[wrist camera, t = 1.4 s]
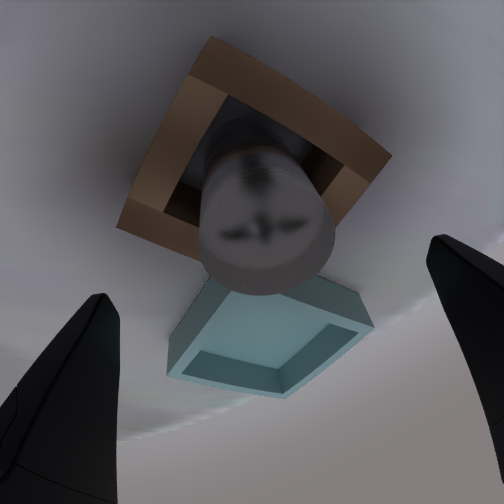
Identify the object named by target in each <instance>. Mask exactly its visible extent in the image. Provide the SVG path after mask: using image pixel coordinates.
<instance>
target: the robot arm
mask: <svg viewBox="0 0 504 504" xmlns="http://www.w3.org/2000/svg"><path fill="white" fill-rule="evenodd" d="M426 264H427V268H428V270H429V273H430V275H431V278H432V280H433V283H434V285H435V288H436V290H437V293H438V296H439V298H440V301H441V304H442V306H443V308H444V311H445V313H446V316H447V318H448V320H449V322H450V324H451V327H452V329H453V331H454V333H455V336H456V338H457V340H458V342H459V345H460V347H461V350H462V352H463V354H464V357H465V359H466V362H467V364H468V367H469V370H470V372H471V375H472V377H473V380H474V383H475V386H476V388H477V391H478V394H479V397H480V400H481V403H482V406H483V409H484V412H485V416H486V419H487V422H488V425H489V430H490V433H491V436H492V440H493V444H494V448H495V452H496V456H497V460H498V465H499V469H500V474H501V479H502V482H503V483H504V266H503V265H502V264H500V263H499V262H497V261H495V260H493V259H492V258H489V257H488V256H486V255H484V254H483V253H481V252H479V251H477V250H475V249H473V248H471V247H470V246H468V245H466V244H464V243H462V242H460V241H458V240H456V239H454V238H452V237H450V236H448V235H446V234H441V235H436V236H434V237H433V238H432V239H431V243H430V247H429V250H428V254H427V258H426ZM119 378H120V317H119V314H118V312H117V310H116V308H115V307H114V305H113V303H112V302H111V300H110V298H109V297H108V295H107V294H105V293H99V294H93V295H91V296H90V297H89V298H88V299H87V300H86V302H85V303H84V304H83V305H82V306H81V307H80V308H79V309H78V311H77V312H76V313H75V314H74V315H73V316H72V317H71V319H70V320H69V321H68V322H67V323H66V324H65V326H64V327H63V328H62V329H61V330H60V331H59V333H58V334H57V335H56V336H55V337H54V339H53V340H52V341H51V342H50V343H49V345H48V346H47V347H46V348H45V349H44V351H43V352H42V353H41V354H40V356H39V357H38V358H37V359H36V361H35V362H34V363H33V364H32V366H31V367H30V368H29V370H28V371H27V372H26V373H25V375H24V376H23V377H22V379H21V380H20V381H19V383H18V384H17V387H15V388H14V389H13V391H12V392H11V393H10V395H9V396H8V397H7V399H6V400H5V401H4V403H3V404H2V405H1V407H0V504H117V503H118V500H117V470H116V439H117V409H118V391H119Z"/></svg>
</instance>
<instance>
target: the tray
mask: <svg viewBox="0 0 504 504" xmlns="http://www.w3.org/2000/svg"><path fill="white" fill-rule="evenodd" d="M373 329H374V325H373V323H372V321H371V319H370V317H369V315H368V312H367V310H366V308H365V306H364V304H363V302H362V300H361V298H360V295H359V294H358V293H356V292H353V291H351V290H349V289H347V288H344V287H342V286H340V285H337V284H335V283H333V282H330V281H328V280H326V279H324V278H321V277H319V276H317V275H314V276H313V277H312V278H311V279H310V280H308V281H307V282H305V283H304V284H302V285H300V286H298V287H296V288H294V289H292V290H289V291H286V292H283V293H279V294H274V295H266V296H254V295H246V294H241V293H238V292H234V291H232V290H230V289H227V288H225V287H224V286H222V285H220V284H219V283H218V282H216V281H215V280H214V279H213V278H212V277H210V279H209V280H208V282H207V283H206V284H205V286H204V287H203V289H202V290H201V292H200V293H199V295H198V296H197V298H196V299H195V301H194V302H193V304H192V305H191V307H190V308H189V310H188V311H187V313H186V315H185V316H184V318H183V319H182V321H181V322H180V324H179V325H178V327H177V328H176V330H175V331H174V333H173V334H172V336H171V337H170V339H169V347H168V361H167V376H169V377H173V378H177V379H181V380H185V381H190V382H194V383H198V384H203V385H207V386H212V387H217V388H222V389H227V390H232V391H237V392H243V393H248V394H254V395H261V396H267V397H274V398H281V399H285V398H287V397H288V396H290V395H291V394H293V393H294V392H295V391H297V390H298V389H300V388H301V387H302V386H304V385H305V384H306V383H308V382H309V381H310V380H312V379H313V378H314V377H316V376H317V375H318V374H320V373H321V372H322V371H323V370H325V369H326V368H327V367H329V366H330V365H331V364H332V363H334V362H335V361H336V360H337V359H339V358H340V357H341V356H342V355H343V354H345V353H346V352H347V351H348V350H349V349H351V348H352V347H353V346H354V345H355V344H357V343H358V342H359V341H360V340H361V339H362V338H364V337H365V336H366V335H367V334H368V333H369V332H370V331H371V330H373Z"/></svg>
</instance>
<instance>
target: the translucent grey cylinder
mask: <svg viewBox="0 0 504 504" xmlns="http://www.w3.org/2000/svg"><path fill="white" fill-rule="evenodd" d="M334 240H335V227H334V222H333V219H332V216H331V214H330V212H329V210H328V208H327V207H326V205H325V204H324V202H323V200H322V199H321V197H320V196H319V194H318V192H317V191H316V189H315V188H314V186H313V184H312V183H311V181H310V180H309V178H308V177H307V175H306V174H305V172H304V170H303V169H302V167H301V166H300V164H299V163H298V161H297V160H296V158H295V157H294V155H293V154H292V152H291V151H290V149H289V148H288V146H287V145H286V144H285V142H284V141H283V139H282V138H281V136H280V135H279V133H278V132H277V131H276V130H275V129H274V128H273V127H272V126H271V125H269V124H268V123H266V122H264V121H261V120H258V119H254V118H238V119H234V120H231V121H229V122H226V123H224V124H223V125H221V126H220V127H219V128H218V129H216V130H215V132H214V133H213V134H212V135H211V137H210V138H209V140H208V142H207V145H206V148H205V155H204V167H203V180H202V194H201V209H200V225H199V254H200V258H201V261H202V264H203V266H204V267H205V269H206V271H207V272H208V273H209V275H210V276H211V277H212V278H213V279H214V280H215V281H216V282H218V283H219V284H220V285H222V286H224V287H225V288H227V289H230V290H232V291H234V292H238V293H241V294H246V295H254V296H266V295H274V294H279V293H283V292H286V291H289V290H292V289H294V288H296V287H298V286H300V285H302V284H304V283H305V282H307V281H308V280H310V279H311V278H312V277H313V276H314V275H316V274H317V273H318V272H319V271H320V270H321V268H322V267H323V266H324V264H325V263H326V261H327V260H328V258H329V256H330V254H331V252H332V249H333V245H334Z"/></svg>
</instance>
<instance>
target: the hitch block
mask: <svg viewBox="0 0 504 504" xmlns="http://www.w3.org/2000/svg"><path fill="white" fill-rule="evenodd" d="M227 95H230V96H232V97H234V98H236V99H238V100H240V101H242V102H243V103H245V104H247V105H249V106H251V107H252V108H254V109H256V110H258V111H260V112H261V113H263V114H265V115H267V116H268V117H270V118H272V119H273V120H275V121H277V122H279V123H280V124H282V125H284V126H285V127H287V128H288V129H290V130H292V131H293V132H295V133H297V134H298V135H300V136H301V137H303V138H305V139H306V140H308V141H309V142H311V143H312V144H314V145H315V146H314V147H313V149H312V150H311V152H310V153H309V154H308V156H307V157H306V159H305V160H304V161H303V163H302V164H301V165H300V166H301V167H302V169H303V170H304V172H305V174H306V175H307V177H308V178H309V180H310V181H311V183H312V184H313V186H314V188H315V189H316V191H317V192H318V194H319V196H320V197H321V199H322V200H323V202H324V204H325V205H326V207H327V208H328V210H329V212H330V214H331V216H332V219H333V222H334V227H336V226H337V225H338V224H339V222H340V221H341V220H342V219H343V217H344V216H345V215H346V214H347V213H348V211H349V210H350V209H351V208H352V206H353V205H354V204H355V203H356V201H357V200H358V199H359V198H360V196H361V195H362V194H363V193H364V191H365V190H366V189H367V188H368V186H369V185H370V184H371V183H372V181H373V180H374V179H375V177H376V176H377V175H378V174H379V172H380V171H381V170H382V168H383V167H384V166H385V165H386V163H387V162H388V161H389V159H390V158H391V157H392V155H391V154H390V153H389V152H387V151H386V150H385V149H384V148H383V147H382V146H380V145H379V144H378V143H377V142H376V141H374V140H373V139H372V138H371V137H369V136H368V135H367V134H366V133H364V132H363V131H362V130H361V129H359V128H358V127H357V126H355V125H354V124H353V123H352V122H350V121H349V120H348V119H346V118H345V117H344V116H342V115H341V114H340V113H338V112H337V111H335V110H334V109H333V108H331V107H330V106H329V105H327V104H326V103H324V102H323V101H321V100H320V99H319V98H317V97H316V96H314V95H313V94H311V93H310V92H308V91H307V90H305V89H304V88H302V87H301V86H299V85H298V84H296V83H295V82H293V81H291V80H290V79H288V78H287V77H285V76H283V75H282V74H280V73H278V72H277V71H275V70H274V69H272V68H270V67H268V66H267V65H265V64H263V63H262V62H260V61H258V60H256V59H255V58H253V57H251V56H249V55H247V54H246V53H244V52H242V51H240V50H238V49H236V48H234V47H232V46H230V45H229V44H227V43H225V42H223V41H221V40H219V39H217V38H215V37H213V36H211V37H210V39H209V40H208V42H207V44H206V45H205V47H204V48H203V50H202V51H201V53H200V55H199V56H198V58H197V60H196V61H195V63H194V65H193V66H192V68H191V70H190V71H189V73H188V75H187V76H186V78H185V80H184V82H183V83H182V85H181V87H180V89H179V91H178V92H177V94H176V96H175V98H174V100H173V102H172V103H171V105H170V107H169V109H168V111H167V113H166V115H165V117H164V119H163V121H162V123H161V125H160V127H159V129H158V131H157V133H156V135H155V137H154V139H153V141H152V143H151V145H150V147H149V149H148V152H147V154H146V156H145V158H144V160H143V162H142V165H141V167H140V169H139V171H138V174H137V176H136V178H135V181H134V183H133V185H132V188H131V190H130V193H129V195H128V198H127V200H126V202H125V205H124V208H123V210H122V213H121V215H120V218H119V221H118V223H117V226H116V228H119V229H121V230H124V231H126V232H129V233H131V234H133V235H136V236H138V237H141V238H143V239H146V240H148V241H151V242H153V243H155V244H158V245H160V246H163V247H165V248H168V249H170V250H173V251H175V252H178V253H180V254H183V255H185V256H188V257H191V258H193V259H196V260H198V261H201V258H200V254H199V225H200V209H201V194H202V191H200V190H198V189H196V188H194V187H192V186H189V185H187V184H185V183H183V182H180V181H179V179H180V177H181V175H182V174H183V172H184V170H185V168H186V166H187V164H188V162H189V161H190V159H191V157H192V155H193V153H194V151H195V150H196V148H197V146H198V144H199V143H200V141H201V139H202V137H203V135H204V134H205V132H206V130H207V129H208V127H209V125H210V123H211V122H212V120H213V118H214V117H215V115H216V113H217V112H218V110H219V108H220V107H221V105H222V103H223V102H224V100H225V99H226V97H227ZM201 262H202V261H201Z"/></svg>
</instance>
